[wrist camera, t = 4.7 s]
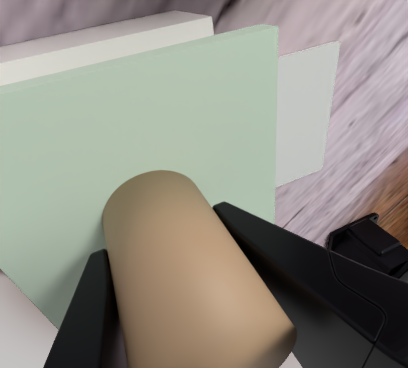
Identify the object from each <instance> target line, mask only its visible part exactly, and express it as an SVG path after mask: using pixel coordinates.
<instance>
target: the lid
mask: <svg viewBox="0 0 408 368" xmlns="http://www.w3.org/2000/svg"><path fill="white" fill-rule="evenodd" d="M277 77H278V26H273V25H266V24H259V25H255V26H250V27H246V28H242V29H238V30H234V31H229V32H225V33H221V34H217V35H212V36H208V37H204V38H200V39H196V40H191V41H187V42H183V43H179V44H175V45H170V46H166V47H162V48H158V49H154V50H149V51H145V52H141V53H137V54H133V55H128V56H124V57H120V58H116V59H112V60H107V61H103V62H99V63H95V64H91V65H86V66H82V67H78V68H74V69H70V70H65V71H61V72H57V73H53V74H49V75H44V76H40V77H36V78H32V79H28V80H23V81H19V82H15V83H11V84H7V85H2V86H0V269H1V270H2V271H3V272H4V273H5V274H6V275H7V276H8V277H9V278H10V279H11V280H12V281H13V283H14V284H16V286H18V288H19V289H20V290H21V291H22V292H23V293H24V294H25V295H26V296H27V297H28V298H29V299H30V300H31V302H33V304H34V305H36V307H37V308H38V309H39V310H40V311H41V312H42V313H43V314H44V315H45V316H46V317H47V318H48V319H49V320H50V322H51V323H52V324H53V325H54V326H56V328H57V329H58V330H59V328H60V326H61V323H62V321H63V319H64V316H65V314H66V311H67V309H68V306H69V304H70V302H71V299H72V297H73V294H74V292H75V290H76V287H77V285H78V282H79V280H80V277H81V275H82V273H83V270H84V268H85V265H86V263H87V260H88V258H89V256H90V254H91V253H93V252H96V251H98V250H101V249H106V250H107V252H108V257H109V263H110V269H111V274H112V280H113V285H114V291H115V297H116V302H117V308H118V314H119V319H120V325H121V331H122V336H123V342H124V348H125V353H126V359H127V364H128V368H279V367H280V366H281V365H282V363H283V362H284V361H285V359H287V357H288V356H289V354H290V353H291V351H292V349H293V347H294V345H295V343H296V339H297V331H296V328H295V326H294V325H293V324H292V322H291V321H290V319H289V318H288V316H287V315H286V314H285V312H284V311H283V309H282V308H281V306H280V305H279V303H278V302H277V301H276V299H275V298H274V296H273V295H272V293H271V292H270V291H269V289H268V288H267V286H266V285H265V283H264V282H263V280H262V279H261V278H260V276H259V275H258V273H257V272H256V270H255V269H254V268H253V266H252V265H251V263H250V262H249V260H248V259H247V258H246V256H245V255H244V253H243V252H242V250H241V249H240V247H239V246H238V245H237V243H236V242H235V240H234V239H233V237H232V236H231V235H230V233H229V232H228V230H227V229H226V227H225V226H224V224H223V223H222V222H221V220H220V219H219V217H218V216H217V214H216V213H215V212H214V210H213V209H212V207H213V205H215V204H218V203H220V202H223V201H225V202H228V203H230V204H232V205H234V206H236V207H238V208H241V209H243V210H245V211H247V212H249V213H251V214H253V215H256V216H258V217H260V218H262V219H264V220H266V221H268V222H270V223H273V224H275V179H276V128H277Z"/></svg>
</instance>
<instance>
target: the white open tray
mask: <svg viewBox="0 0 408 368" xmlns="http://www.w3.org/2000/svg"><path fill="white" fill-rule="evenodd" d="M212 35H214V32H213V22H212V16H206V15H200V14H194V13H188V12H182V11H176V10H173V11H168V12H163V13H158V14H153V15H149V16H144V17H139V18H134V19H129V20H125V21H120V22H115V23H110V24H105V25H101V26H96V27H91V28H86V29H81V30H77V31H72V32H67V33H62V34H57V35H53V36H48V37H43V38H38V39H33V40H29V41H24V42H19V43H14V44H9V45H5V46H0V86H2V85H7V84H11V83H15V82H19V81H23V80H28V79H32V78H36V77H40V76H44V75H49V74H53V73H57V72H61V71H65V70H70V69H74V68H78V67H82V66H86V65H91V64H95V63H99V62H103V61H107V60H112V59H116V58H120V57H124V56H128V55H133V54H137V53H141V52H145V51H149V50H154V49H158V48H162V47H166V46H170V45H175V44H179V43H183V42H187V41H191V40H196V39H200V38H204V37H208V36H212Z"/></svg>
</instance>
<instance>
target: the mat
mask: <svg viewBox="0 0 408 368" xmlns="http://www.w3.org/2000/svg"><path fill="white" fill-rule="evenodd" d="M339 49H340V42H339V41H334V42H330V43H326V44H323V45H319V46H315V47H312V48H308V49H305V50H301V51H297V52H294V53H290V54H286V55H283V56H279V57H278V77H277V128H276V179H275V188H276V187H279V186H281V185H284V184H286V183H289V182H291V181H294V180H296V179H299V178H301V177H304V176H306V175H309V174H311V173H314V172H316V171H319V170H321V169H322V168H323V161H324V154H325V147H326V140H327V133H328V126H329V119H330V112H331V105H332V98H333V91H334V84H335V77H336V70H337V63H338V56H339Z"/></svg>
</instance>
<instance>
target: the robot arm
mask: <svg viewBox="0 0 408 368" xmlns="http://www.w3.org/2000/svg"><path fill="white" fill-rule="evenodd" d="M212 209H213V210H214V212H215V213H216V214H217V216H218V217H219V219H220V220H221V222H222V223H223V224H224V226H225V227H226V229H227V230H228V232H229V233H230V235H231V236H232V237H233V239H234V240H235V242H236V243H237V245H238V246H239V247H240V249H241V250H242V252H243V253H244V255H245V256H246V258H247V259H248V260H249V262H250V263H251V265H252V266H253V268H254V269H255V270H256V272H257V273H258V275H259V276H260V278H261V279H262V280H263V282H264V283H265V285H266V286H267V288H268V289H269V291H270V292H271V293H272V295H273V296H274V298H275V299H276V301H277V302H278V303H279V305H280V306H281V308H282V309H283V311H284V312H285V314H286V315H287V316H288V318H289V319H290V321H291V322H292V324H293V325H294V326H295V328H296V331H297V339H296V343H295V345H294V347H293V349H292V353H293V354H294V356H295V357H296V358H297V360H298V361H299V363H300V364H301V366H302V367H303V368H408V249H406V248H405V247H404V246H402V245H401V242H400V241H399V240H397V239H396V238H394V237H393V236H392V235H390V234H389V233H388V232H386V231H385V230H384V229H382V228H381V227H380V226H378V225H377V224H376V223H377V220H378V217H379V215H378V214H377V213H372V214H370V215H368V216H366V217H364V218H362V219H360V220H357V221H355V222H353V223H351V224H349V225H347V226H345V227H343V228H340V229H338V230H336V231H334V232H333V233H332V234H331V236H330V240H329V245H328V249H326V248H324V247H322V246H320V245H318V244H315V243H313V242H311V241H309V240H307V239H305V238H303V237H300V236H298V235H296V234H294V233H292V232H290V231H288V230H285V229H283V228H281V227H279V226H277V225H275V224H273V223H270V222H268V221H266V220H264V219H262V218H260V217H258V216H256V215H253V214H251V213H249V212H247V211H245V210H243V209H241V208H238V207H236V206H234V205H232V204H230V203H228V202H225V201H223V202H220V203H218V204H215V205H213V207H212ZM43 368H128V364H127V359H126V353H125V348H124V342H123V336H122V331H121V325H120V319H119V314H118V308H117V302H116V297H115V291H114V285H113V280H112V274H111V269H110V263H109V257H108V252H107V250H106V249H101V250H98V251H96V252H93V253H91V254H90V256H89V258H88V260H87V263H86V265H85V268H84V270H83V273H82V275H81V277H80V280H79V282H78V285H77V287H76V290H75V292H74V294H73V297H72V299H71V302H70V304H69V306H68V309H67V311H66V314H65V316H64V319H63V321H62V323H61V326H60V328H59V331H58V333H57V336H56V338H55V340H54V343H53V345H52V348H51V350H50V353H49V355H48V357H47V360H46V362H45V365H44V367H43Z"/></svg>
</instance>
